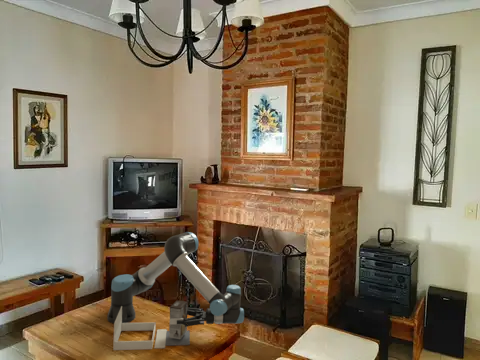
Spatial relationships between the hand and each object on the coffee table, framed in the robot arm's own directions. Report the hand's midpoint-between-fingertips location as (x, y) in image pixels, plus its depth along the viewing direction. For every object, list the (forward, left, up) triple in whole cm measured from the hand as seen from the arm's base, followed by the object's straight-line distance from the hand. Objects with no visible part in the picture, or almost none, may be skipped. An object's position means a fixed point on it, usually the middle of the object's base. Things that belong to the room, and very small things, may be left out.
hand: (170, 316), depth 190 cm
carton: (0, -14, -11) cm, 18 cm away
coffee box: (0, +4, -10) cm, 11 cm away
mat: (0, +4, -11) cm, 12 cm away
